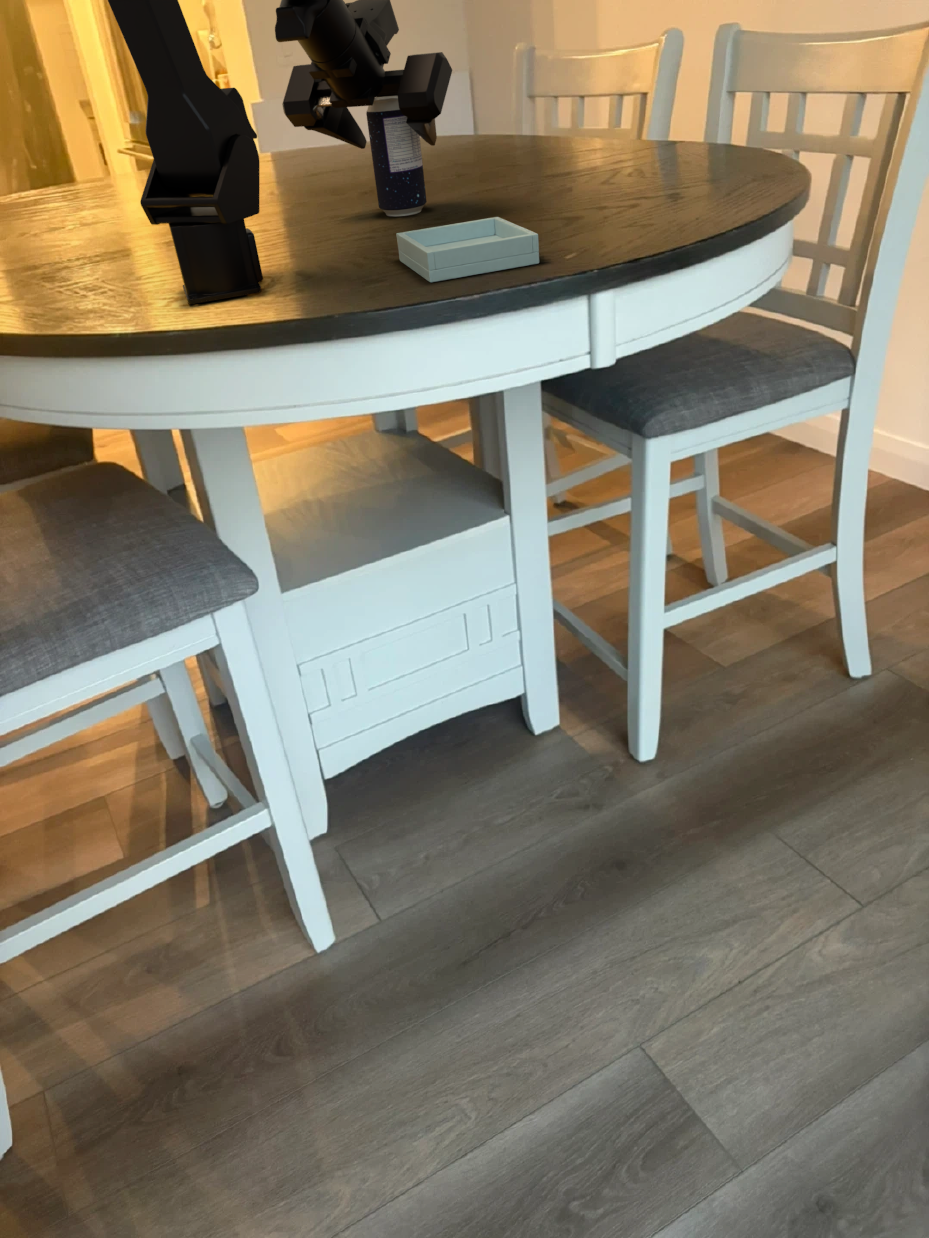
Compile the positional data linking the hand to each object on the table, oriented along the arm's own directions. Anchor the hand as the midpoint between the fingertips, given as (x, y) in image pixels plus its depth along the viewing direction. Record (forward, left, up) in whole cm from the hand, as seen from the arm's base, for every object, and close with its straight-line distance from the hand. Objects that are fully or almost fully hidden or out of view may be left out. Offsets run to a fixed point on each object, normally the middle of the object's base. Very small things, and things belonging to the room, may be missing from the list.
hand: (398, 143), depth 104 cm
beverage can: (-1, -1, -7) cm, 8 cm away
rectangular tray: (-3, -30, -7) cm, 31 cm away
